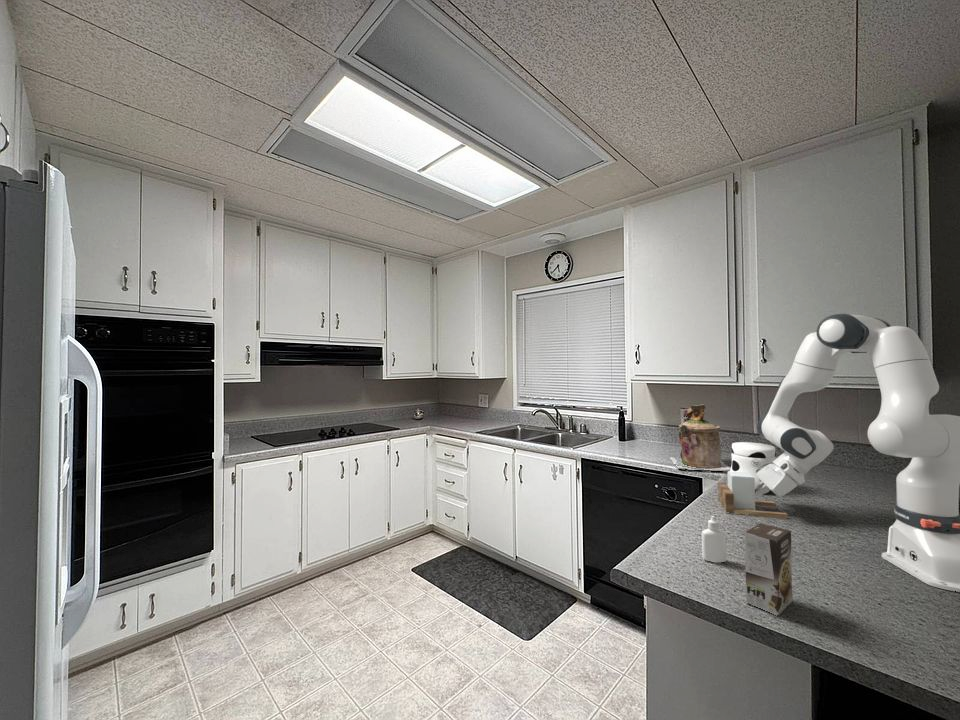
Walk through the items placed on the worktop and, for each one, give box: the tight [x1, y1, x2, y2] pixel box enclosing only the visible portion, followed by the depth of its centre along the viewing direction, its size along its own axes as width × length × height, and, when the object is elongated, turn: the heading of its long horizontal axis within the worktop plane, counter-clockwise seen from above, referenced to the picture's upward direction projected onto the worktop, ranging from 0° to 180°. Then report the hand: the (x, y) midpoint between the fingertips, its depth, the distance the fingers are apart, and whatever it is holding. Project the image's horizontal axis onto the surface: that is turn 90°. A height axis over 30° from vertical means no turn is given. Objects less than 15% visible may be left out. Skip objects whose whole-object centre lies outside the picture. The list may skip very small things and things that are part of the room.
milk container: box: [730, 441, 777, 493], centre depth 172 cm, size 17×17×18 cm
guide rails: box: [727, 499, 789, 520], centre depth 148 cm, size 13×18×2 cm
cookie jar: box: [669, 403, 731, 471], centre depth 209 cm, size 25×25×32 cm
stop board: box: [717, 482, 734, 514], centre depth 151 cm, size 13×2×7 cm, turn 160°
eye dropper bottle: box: [701, 515, 727, 563], centre depth 112 cm, size 4×6×12 cm
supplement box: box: [726, 471, 756, 510], centre depth 149 cm, size 7×7×13 cm
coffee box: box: [744, 522, 793, 617], centre depth 92 cm, size 9×6×16 cm
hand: (755, 494), depth 148 cm, fingers closed
